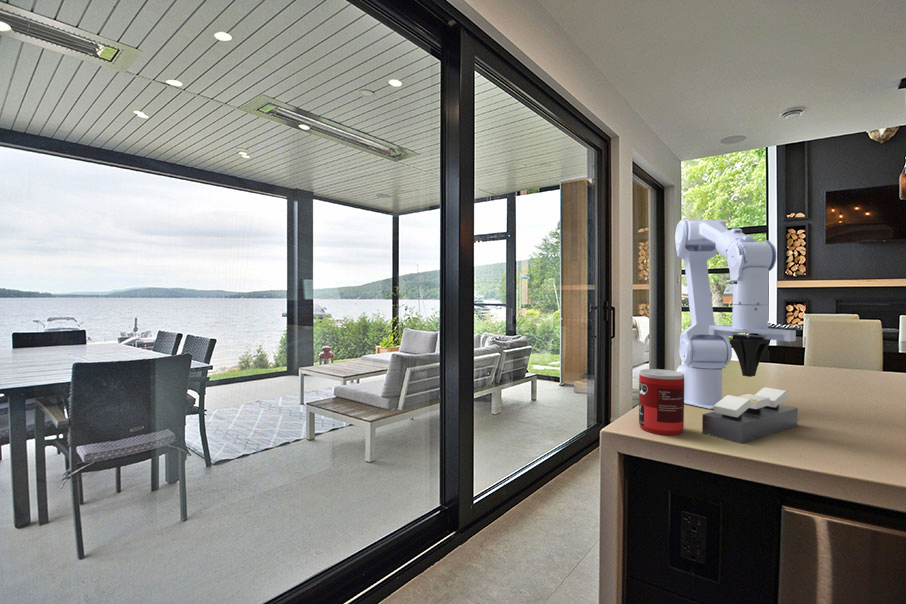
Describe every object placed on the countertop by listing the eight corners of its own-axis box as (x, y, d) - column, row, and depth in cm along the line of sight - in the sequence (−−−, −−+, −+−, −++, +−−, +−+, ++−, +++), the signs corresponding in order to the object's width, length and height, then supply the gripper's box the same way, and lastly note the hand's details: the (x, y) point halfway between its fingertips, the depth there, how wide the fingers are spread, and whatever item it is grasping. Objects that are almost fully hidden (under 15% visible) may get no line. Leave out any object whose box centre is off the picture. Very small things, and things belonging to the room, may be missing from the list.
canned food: (648, 421, 94) (648, 367, 94) (690, 429, 88) (690, 372, 88) (631, 429, 89) (632, 372, 88) (674, 438, 83) (675, 377, 83)
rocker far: (753, 403, 93) (752, 396, 92) (764, 393, 95) (764, 387, 95) (775, 407, 89) (774, 400, 89) (786, 397, 92) (786, 390, 92)
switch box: (702, 433, 86) (702, 410, 86) (772, 413, 100) (772, 393, 100) (741, 443, 80) (742, 418, 80) (810, 421, 94) (811, 400, 94)
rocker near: (714, 412, 85) (713, 405, 85) (728, 401, 88) (727, 394, 88) (737, 417, 82) (736, 410, 82) (751, 406, 84) (750, 399, 84)
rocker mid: (733, 404, 89) (733, 396, 89) (747, 400, 92) (747, 393, 91) (756, 409, 85) (756, 400, 85) (769, 405, 88) (769, 396, 88)
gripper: (700, 304, 92) (699, 371, 92) (783, 306, 80) (781, 384, 80) (720, 303, 96) (719, 368, 96) (801, 305, 83) (800, 380, 84)
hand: (748, 375), depth 88 cm, fingers closed
